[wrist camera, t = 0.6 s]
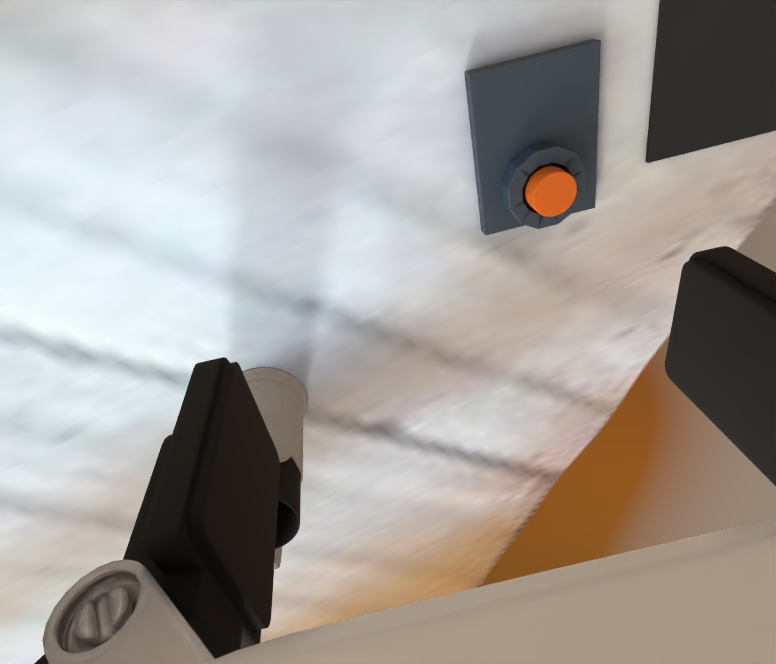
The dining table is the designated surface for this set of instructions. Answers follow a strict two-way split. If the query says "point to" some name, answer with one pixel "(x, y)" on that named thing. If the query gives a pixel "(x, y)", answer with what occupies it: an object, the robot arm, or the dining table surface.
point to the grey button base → (534, 130)
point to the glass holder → (283, 441)
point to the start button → (550, 191)
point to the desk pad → (712, 75)
